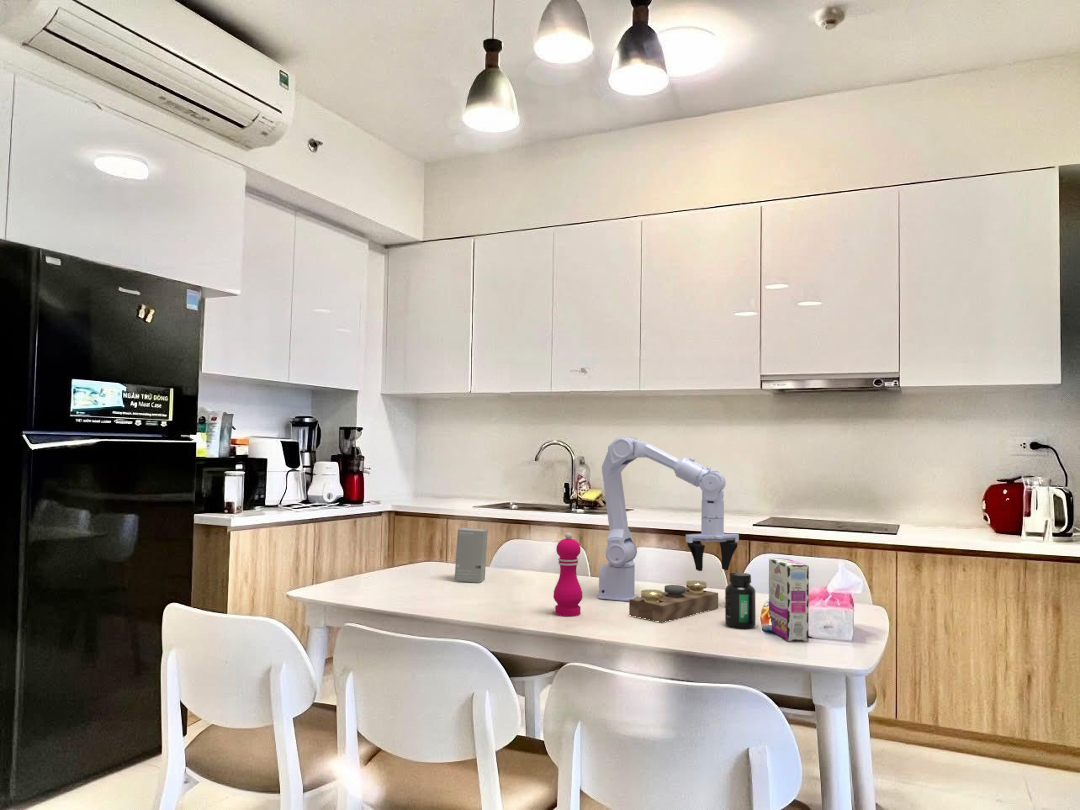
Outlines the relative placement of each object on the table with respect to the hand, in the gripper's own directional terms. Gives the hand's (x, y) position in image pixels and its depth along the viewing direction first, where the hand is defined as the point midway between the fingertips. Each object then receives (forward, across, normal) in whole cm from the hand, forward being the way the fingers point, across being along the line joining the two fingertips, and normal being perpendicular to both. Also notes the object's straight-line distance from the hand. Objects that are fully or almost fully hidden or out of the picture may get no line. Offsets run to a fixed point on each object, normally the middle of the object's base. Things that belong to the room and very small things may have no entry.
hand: (712, 570), depth 196 cm
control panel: (+10, -12, -3) cm, 16 cm away
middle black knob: (+8, -12, -3) cm, 15 cm away
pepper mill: (+10, -39, +2) cm, 40 cm away
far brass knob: (+8, -4, +1) cm, 9 cm away
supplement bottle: (+10, -4, -20) cm, 22 cm away
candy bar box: (+10, +2, -31) cm, 32 cm away
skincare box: (+10, -53, +51) cm, 75 cm away
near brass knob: (+8, -21, -7) cm, 23 cm away
